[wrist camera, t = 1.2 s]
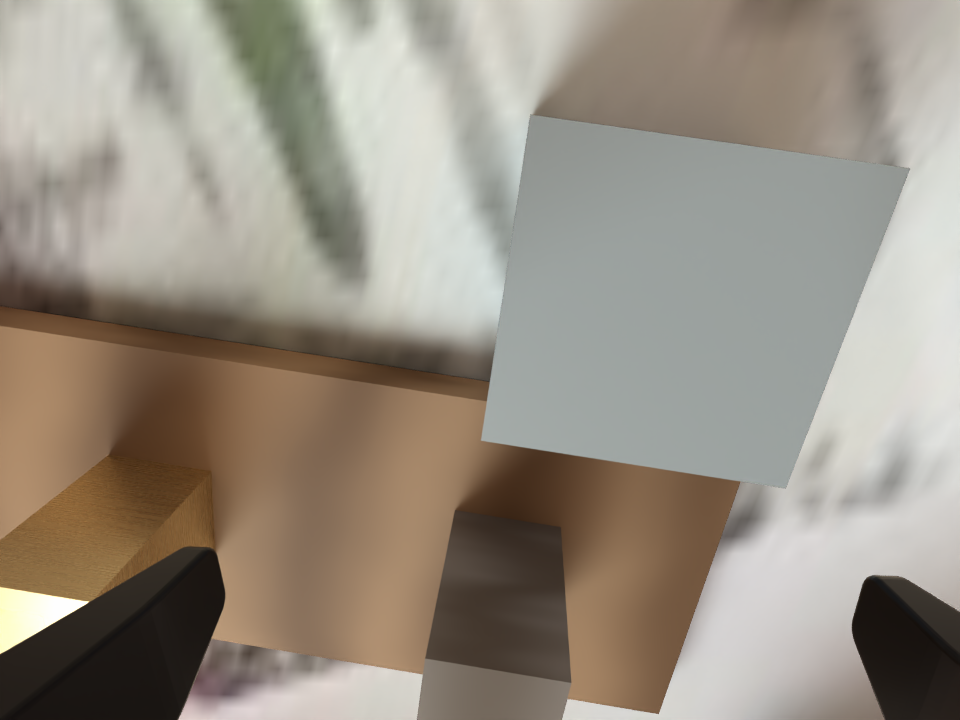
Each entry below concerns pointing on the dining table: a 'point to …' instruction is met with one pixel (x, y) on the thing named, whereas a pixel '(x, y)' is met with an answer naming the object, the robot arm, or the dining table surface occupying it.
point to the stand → (378, 513)
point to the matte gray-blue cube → (678, 297)
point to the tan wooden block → (99, 539)
